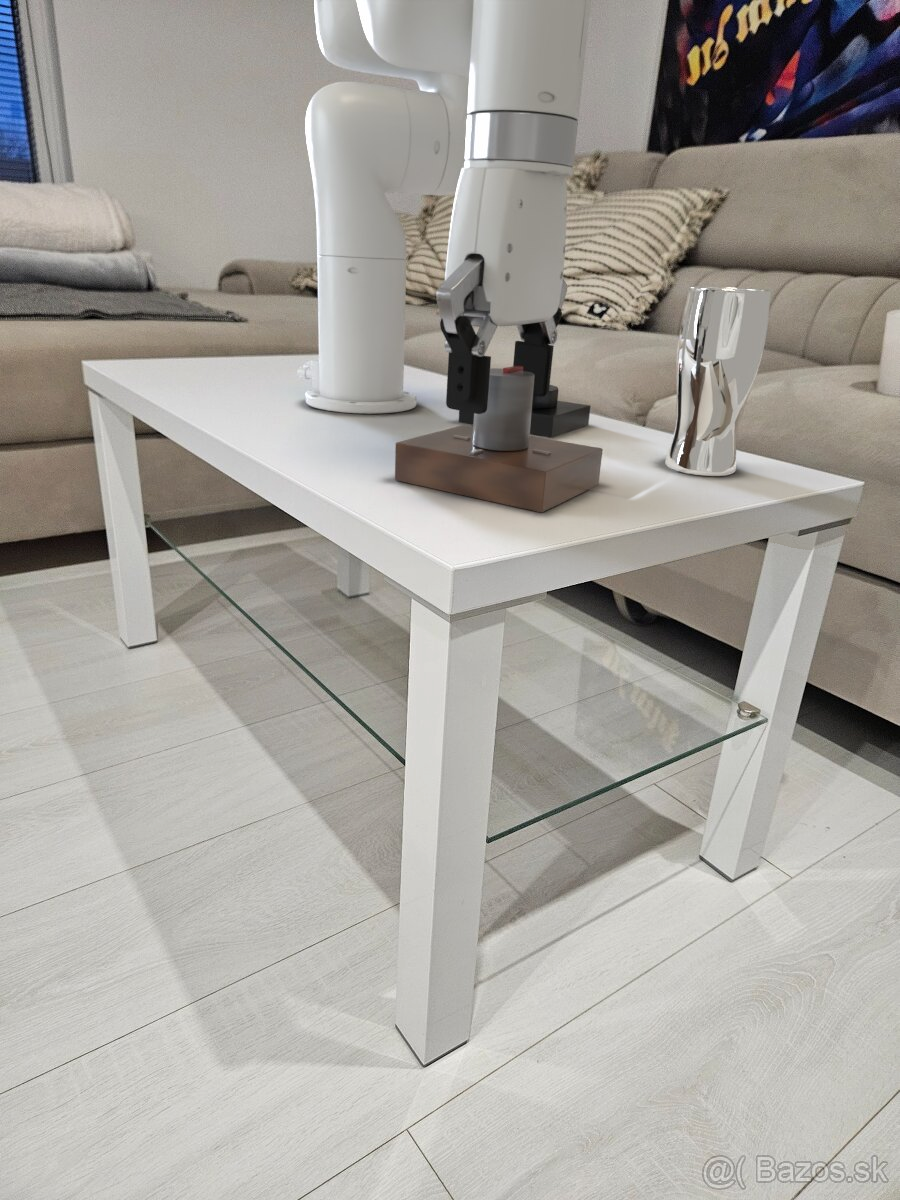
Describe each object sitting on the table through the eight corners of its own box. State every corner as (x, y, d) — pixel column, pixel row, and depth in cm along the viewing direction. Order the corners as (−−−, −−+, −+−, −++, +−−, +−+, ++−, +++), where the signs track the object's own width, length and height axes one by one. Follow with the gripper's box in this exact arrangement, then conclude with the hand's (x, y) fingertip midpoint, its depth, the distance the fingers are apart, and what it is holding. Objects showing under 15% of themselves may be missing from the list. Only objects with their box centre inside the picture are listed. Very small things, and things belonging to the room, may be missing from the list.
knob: (510, 454, 62) (516, 374, 59) (461, 444, 64) (465, 367, 61) (538, 444, 65) (545, 369, 63) (491, 436, 67) (496, 362, 65)
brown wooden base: (394, 480, 65) (395, 440, 64) (462, 458, 73) (464, 422, 71) (541, 513, 58) (546, 469, 57) (598, 485, 66) (603, 446, 65)
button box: (458, 422, 88) (460, 384, 86) (500, 411, 95) (502, 376, 93) (551, 438, 82) (555, 397, 81) (588, 425, 89) (592, 388, 88)
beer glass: (655, 456, 77) (680, 284, 71) (731, 461, 76) (763, 288, 70) (665, 474, 71) (693, 287, 65) (748, 480, 70) (784, 292, 64)
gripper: (530, 161, 65) (511, 382, 72) (401, 135, 52) (393, 409, 59) (619, 163, 61) (590, 395, 69) (505, 135, 48) (483, 427, 55)
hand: (499, 401), depth 64 cm, fingers open, 9 cm apart
